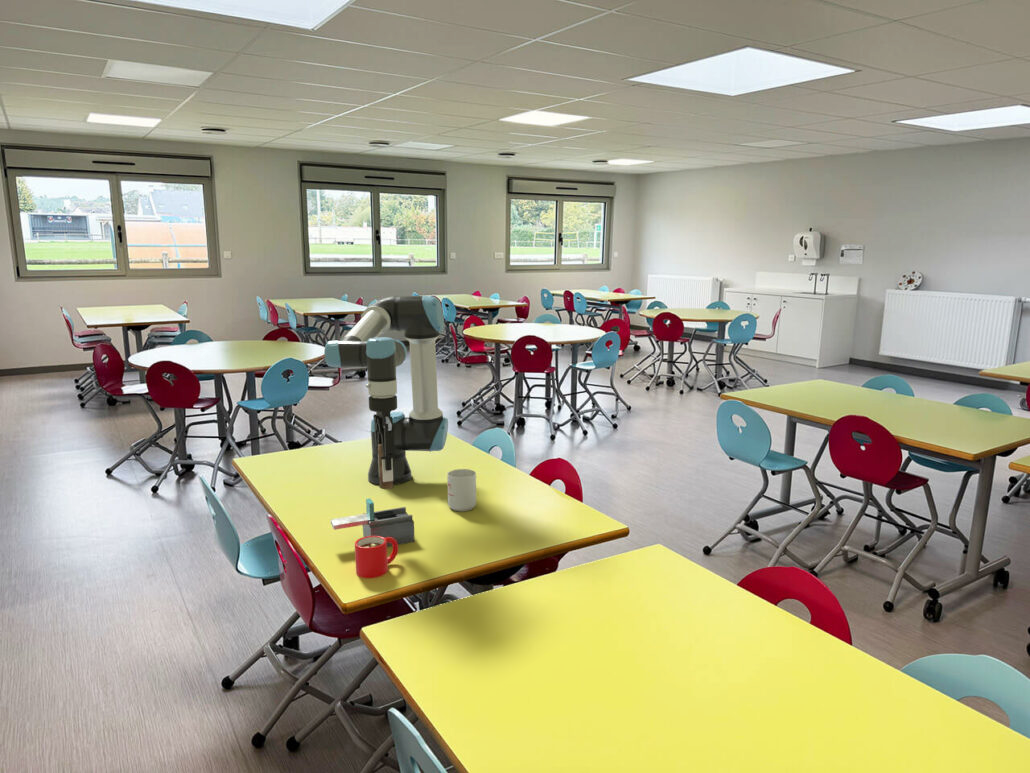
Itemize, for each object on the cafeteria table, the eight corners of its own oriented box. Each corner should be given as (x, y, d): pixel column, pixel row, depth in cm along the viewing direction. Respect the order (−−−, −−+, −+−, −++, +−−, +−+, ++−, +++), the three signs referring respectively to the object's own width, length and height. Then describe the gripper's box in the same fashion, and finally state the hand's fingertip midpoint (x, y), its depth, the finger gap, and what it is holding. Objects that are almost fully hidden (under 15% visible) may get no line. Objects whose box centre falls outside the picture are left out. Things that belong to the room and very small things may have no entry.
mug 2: (481, 508, 219) (481, 474, 217) (457, 514, 214) (457, 479, 212) (461, 497, 228) (460, 464, 226) (437, 503, 223) (436, 470, 221)
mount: (363, 536, 198) (362, 511, 196) (404, 528, 203) (403, 505, 201) (371, 549, 189) (370, 524, 188) (414, 541, 194) (413, 517, 192)
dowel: (378, 485, 194) (376, 444, 191) (391, 484, 195) (389, 442, 193) (381, 489, 190) (379, 447, 188) (394, 487, 192) (392, 445, 190)
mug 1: (407, 565, 180) (406, 536, 178) (368, 581, 171) (367, 551, 169) (388, 556, 185) (387, 528, 183) (349, 571, 176) (348, 542, 175)
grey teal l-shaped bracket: (330, 523, 191) (329, 504, 189) (370, 517, 195) (369, 498, 194) (334, 529, 186) (332, 509, 185) (374, 523, 191) (374, 503, 190)
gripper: (362, 391, 194) (365, 472, 198) (376, 402, 179) (380, 489, 183) (388, 388, 197) (391, 468, 201) (404, 399, 182) (407, 485, 186)
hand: (386, 478), depth 192 cm, fingers closed on dowel, 3 cm apart
